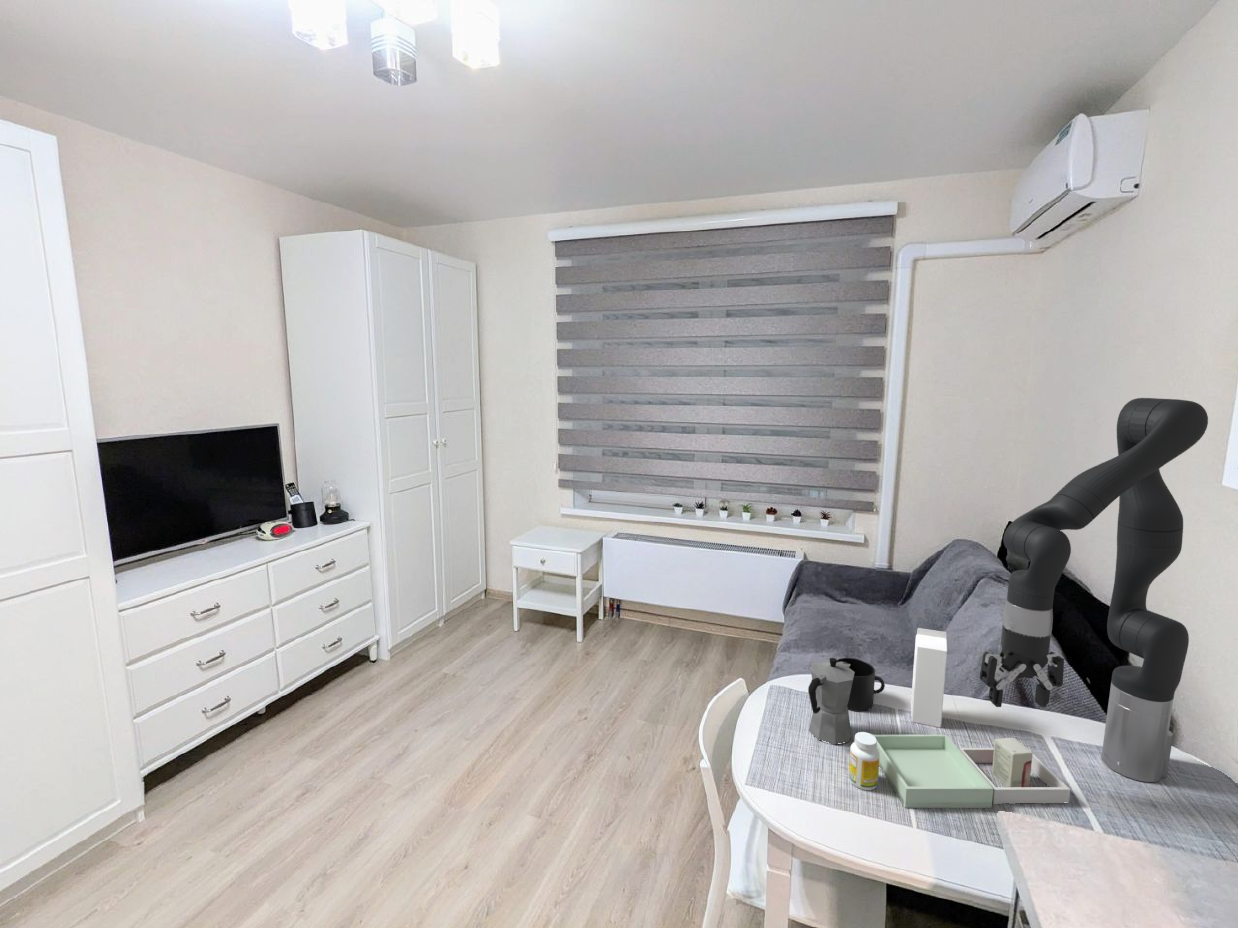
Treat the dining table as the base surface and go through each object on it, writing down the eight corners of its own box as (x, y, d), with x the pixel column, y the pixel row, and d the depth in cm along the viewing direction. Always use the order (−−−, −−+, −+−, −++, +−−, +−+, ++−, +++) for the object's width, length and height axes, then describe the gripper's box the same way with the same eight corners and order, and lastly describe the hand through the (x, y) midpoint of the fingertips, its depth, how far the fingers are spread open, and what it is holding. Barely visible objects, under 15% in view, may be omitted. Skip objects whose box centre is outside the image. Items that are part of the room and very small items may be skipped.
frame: (1024, 760, 119) (1026, 747, 119) (1068, 803, 107) (1070, 789, 107) (957, 760, 119) (958, 747, 119) (993, 803, 107) (994, 789, 107)
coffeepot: (826, 711, 137) (830, 641, 134) (864, 730, 130) (868, 656, 127) (789, 738, 127) (791, 663, 125) (827, 759, 120) (831, 681, 117)
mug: (889, 714, 136) (891, 679, 134) (836, 709, 138) (837, 675, 136) (878, 692, 145) (880, 659, 143) (829, 688, 147) (830, 656, 145)
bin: (944, 751, 122) (946, 734, 122) (991, 807, 106) (993, 788, 106) (869, 751, 123) (870, 734, 122) (904, 807, 107) (906, 788, 106)
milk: (910, 708, 138) (916, 622, 135) (938, 714, 135) (945, 626, 132) (911, 722, 132) (917, 632, 129) (941, 728, 130) (948, 637, 127)
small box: (1030, 789, 111) (1034, 752, 110) (1009, 791, 111) (1013, 754, 109) (1010, 771, 116) (1014, 736, 115) (990, 773, 116) (994, 737, 114)
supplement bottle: (844, 782, 114) (846, 738, 112) (854, 768, 118) (856, 725, 116) (872, 795, 110) (874, 750, 108) (881, 780, 114) (884, 737, 112)
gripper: (1050, 617, 112) (1041, 694, 114) (976, 617, 112) (969, 693, 114) (1080, 635, 104) (1069, 716, 107) (1001, 635, 104) (993, 716, 107)
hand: (1017, 704), depth 111 cm, fingers open, 8 cm apart
